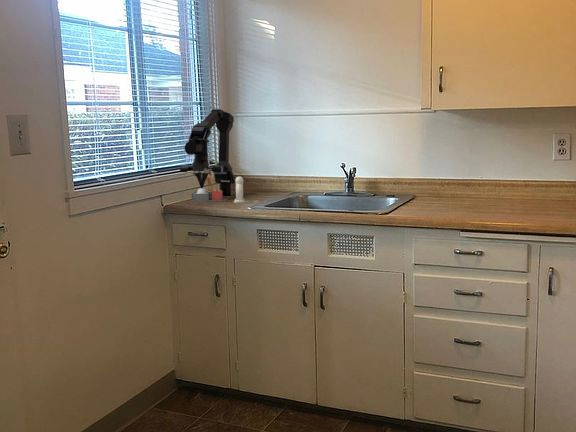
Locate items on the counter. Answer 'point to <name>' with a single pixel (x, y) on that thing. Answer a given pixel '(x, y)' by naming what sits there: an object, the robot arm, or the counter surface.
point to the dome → (201, 191)
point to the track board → (255, 201)
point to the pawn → (239, 190)
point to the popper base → (208, 196)
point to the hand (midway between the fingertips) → (201, 188)
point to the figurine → (209, 182)
